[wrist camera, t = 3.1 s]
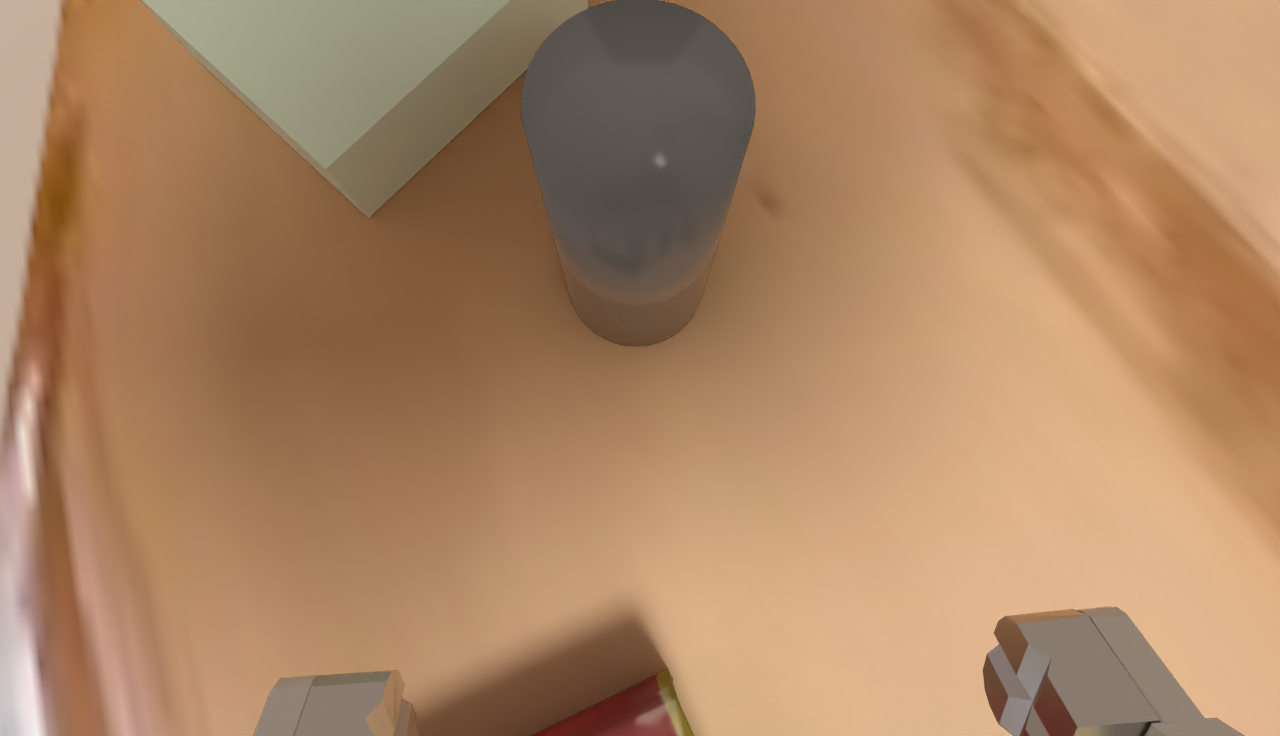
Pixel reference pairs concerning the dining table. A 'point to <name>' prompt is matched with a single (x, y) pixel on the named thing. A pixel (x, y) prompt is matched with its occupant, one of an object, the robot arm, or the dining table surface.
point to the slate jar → (637, 158)
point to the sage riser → (365, 73)
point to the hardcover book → (630, 713)
